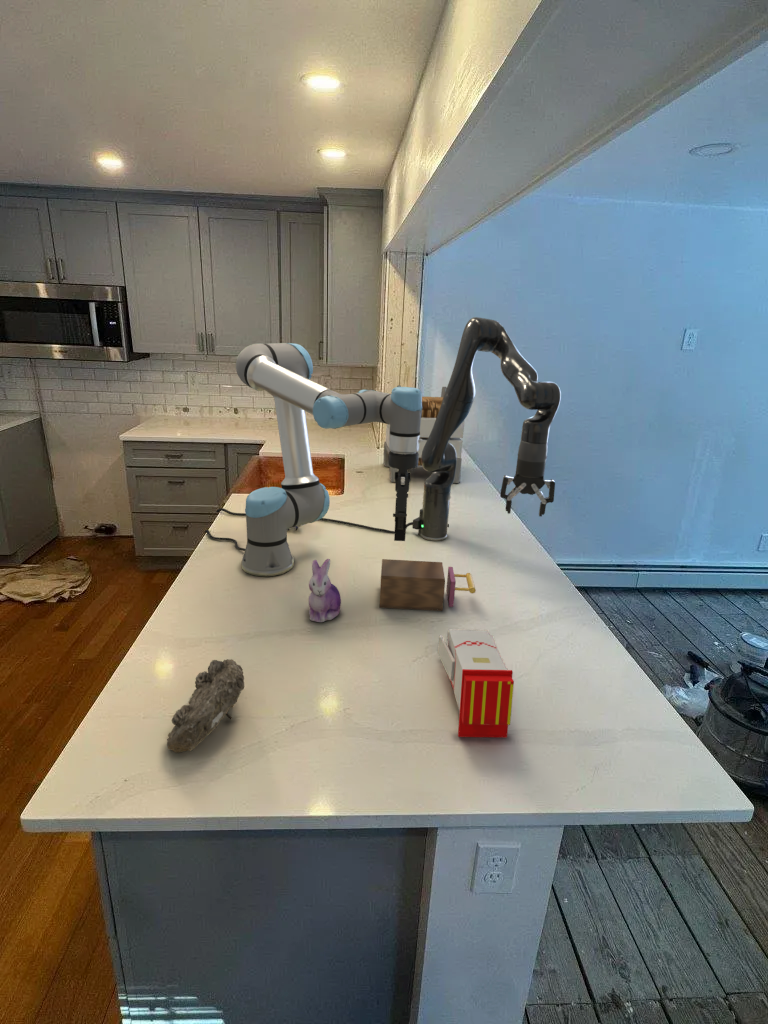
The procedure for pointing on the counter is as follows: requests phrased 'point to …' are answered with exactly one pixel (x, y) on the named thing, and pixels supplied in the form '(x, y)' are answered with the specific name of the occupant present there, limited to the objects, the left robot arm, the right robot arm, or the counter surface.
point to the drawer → (452, 588)
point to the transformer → (427, 422)
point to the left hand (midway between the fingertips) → (399, 530)
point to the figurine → (323, 594)
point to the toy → (478, 682)
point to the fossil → (206, 705)
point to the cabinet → (412, 585)
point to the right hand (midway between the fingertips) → (524, 514)
